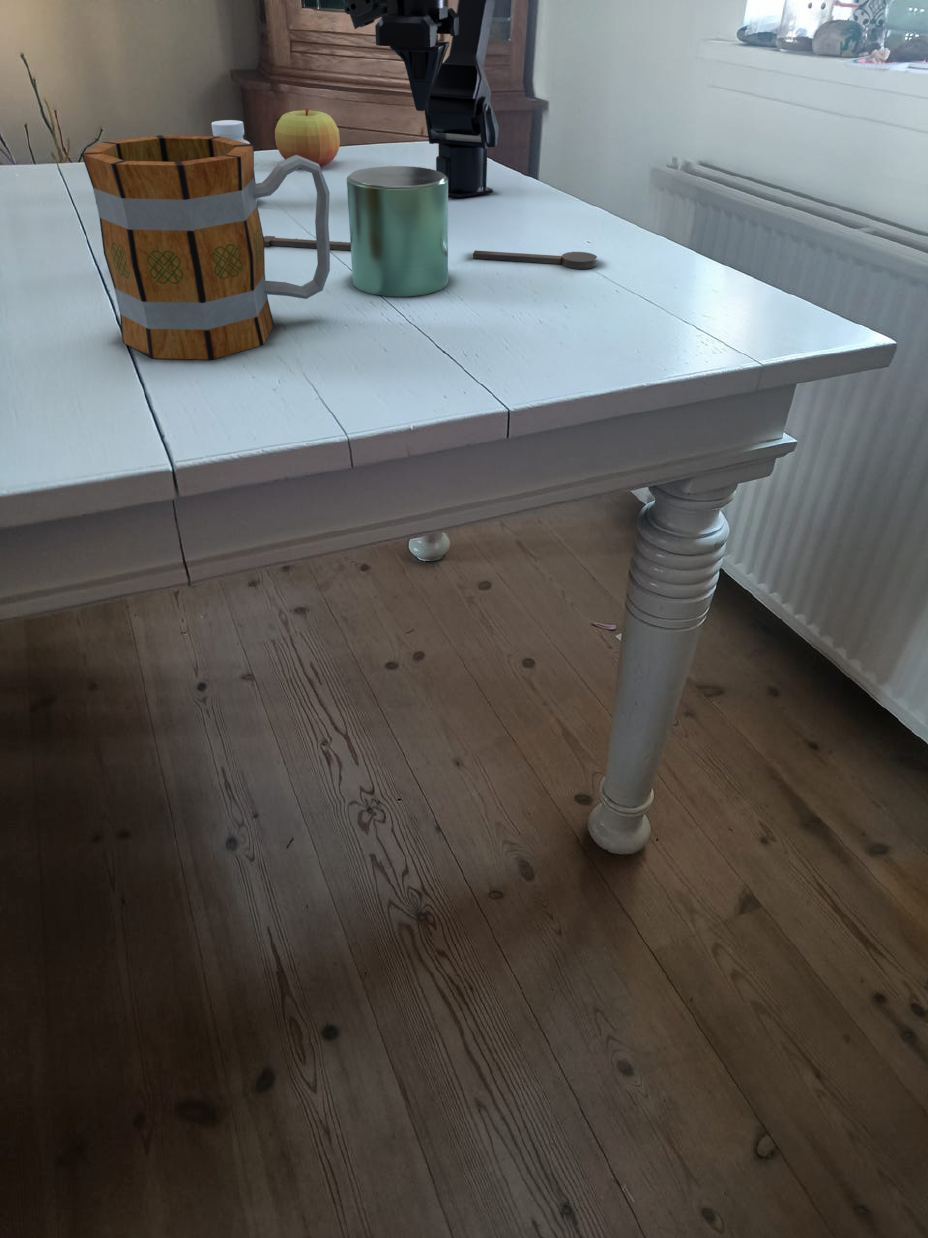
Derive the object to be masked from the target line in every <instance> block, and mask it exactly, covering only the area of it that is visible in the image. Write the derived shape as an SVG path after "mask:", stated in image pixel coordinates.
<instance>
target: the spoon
mask: <svg viewBox="0 0 928 1238" xmlns="http://www.w3.org/2000/svg"><path fill="white" fill-rule="evenodd" d="M472 259H476V260H490V261H503V262H504V261H507V262H519V263H520V262H522V263H536V264H537V263H538V264H552V265H561V266H563V267H566V268H569V269H574V270H587V269H593V268H596V267H597V266H598V259H599V258H598V256H597V255H596V254H594V253H592V252H591V253H590V252H586V251H570V252H569V251H568V252H565V253H563V254H562V255H555V254H553V255H552V254H536V253H524V252H523V253H520V252H505V251H489V250H477V249H476V250H474V251H473V253H472Z"/></svg>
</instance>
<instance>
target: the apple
mask: <svg viewBox="0 0 928 1238" xmlns="http://www.w3.org/2000/svg"><path fill="white" fill-rule="evenodd" d="M274 139H275V145H276V148H277V150H278V152H279V154H280V156H281V157H282V158H283V160H286V159H288V158H290V157H292V156H294V155H298V156H301V157H303V158H305V159H308V160H310V161H313V162H315V163H318V164H319V166H320V168H322V167H326V166H327V165H329V164H330V163H331V162H332V161H333V160H334V159H335V158H336V156H337V155H338V152H339V149H340V145H341V138H340V130H339V128H338V125H337V123H336V122H335V120H334V119H333V118H332V117H331V115H329V114H327V113H326V112H322V111H317V110H310V109H309V108H305V109H304V110H293V111H288V112H286V113H283V114H282V115H281V117H280V118H279V120H278V121H277V123H276V126H275V129H274Z"/></svg>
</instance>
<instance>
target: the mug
mask: <svg viewBox="0 0 928 1238" xmlns="http://www.w3.org/2000/svg"><path fill="white" fill-rule="evenodd" d="M254 149H255V145H254V144H251V143H250V144H248V143H244V142H240V141H236V140H232V139H228V138H224V137H220V136H213V135H168V134H167V135H163V134H162V135H161V134H159V135H152V136H151V135H150V136H144V137H143V136H142V137H135V138H128V139H118V140H110V141H102V142H100V143H99V144H98V145H95V146H94V147H92V148H90V149H88V150H86V151H84V152H82V153H81V157H82V160H83V163H84V165H85V166H84V167H85V169H86V171H87V172H86V173H87V174H88V177H89V180H90V183H91V186H92V190H93V194H94V199H95V200H94V201H95V204H96V208H97V209H96V210H97V213H98V219H99V225H100V232H101V233H100V234H101V235H100V236H101V243H102V249H103V250H102V252H103V256H104V259H105V262H106V265H107V269H108V272H109V275H110V279H111V283H112V285H113V290H114V293H115V297H116V302H117V307H118V312H119V319H120V329H121V330H120V331H121V341H122V343H123V344H125V345H127V346H128V347H131V348H132V349H133V350H136V351H137V352H139V353H141V354H143V355H144V356H147V357H148V358H150V359H167V360H215V359H219V358H223V357H226V356H229V355H233V354H237V353H240V352H244V351H247V350H250V349H254V348H257V347H261V346H264V344H265V342H266V340H267V339H268V337H269V335H270V333H271V332H272V329H273V328H274V325H275V324H274V319H273V315H272V310H271V306H270V302H269V299H268V295H269V296H270V295H271V296H282V297H291V298H297V299H304V300H308V299H309V298H311V297H313V296H314V295H317V294H319V293H320V292H322V291H323V290H324V287H325V285H326V282H327V279H328V277H329V274H330V271H331V249H330V243H329V241H330V230H329V229H330V228H329V227H330V226H329V221H330V219H329V218H330V189H329V187H328V183H327V181H326V179H325V176H324V174H323V171H322V169H321V168H322V167H320V166H319V164H318V163H315V162H313V161H310V160H308V159H305V158H303V157H301V156H298V155H294V156H292V157H290V158H288V159H286V160H285V159H283V160H282V161H279V162H278V163H276V164H275V166H274V168H273V169H272V171H271V172H270V173H269V174H268V176H267V177H266V178H265V179H264V180H263V181H262V182H256V181H255V182H256V184H255V182H254V174H255V150H254ZM299 169H300V170H303V171H305V172H308V173H310V174H311V176H312V179H313V183H314V186H315V191H316V202H315V203H316V204H315V217H314V218H315V219H314V224H315V225H314V226H315V240H316V241H317V248H316V254H317V255H316V256H317V257H316V258H317V259H316V260H317V265H316V268H315V271H314V274H313V277H312V280H310V281H308V282H307V283H304V284H303V285H298V284H294V283H289V282H287V281H275V280H266V268H265V264H266V263H265V262H266V261H265V246H264V237H265V236H264V232H263V227H262V223H261V218H260V212H259V207H258V202H257V199H256V198H258V199H261V198H266V197H270V196H272V195H273V194H274V193H275V192H276V191H277V190H278V189H279V188H280V186H281V185H282V183H283V182H284V180H285V179H286V178H287V176H288V175H290V174H292V173H293V172H295V171H297V170H299Z"/></svg>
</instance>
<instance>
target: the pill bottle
mask: <svg viewBox="0 0 928 1238" xmlns="http://www.w3.org/2000/svg"><path fill="white" fill-rule="evenodd" d="M211 130H212V136H220V137H224V138H228V139H232V140H236V141H240V142H244V143H248V144H251V142H249V140H246V139H244V135H245V127H244V122H243V121H241V120H237V119H236V120H235V119H223V120H215V121H212V122H211ZM255 176H256V175H255V173H254V182H255V184H257V182H256V177H255ZM256 199H257V203H258V199H259V198H256Z"/></svg>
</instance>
